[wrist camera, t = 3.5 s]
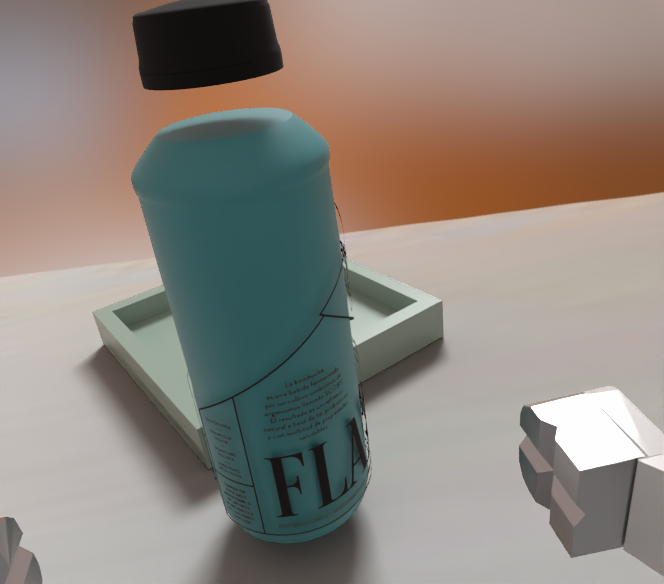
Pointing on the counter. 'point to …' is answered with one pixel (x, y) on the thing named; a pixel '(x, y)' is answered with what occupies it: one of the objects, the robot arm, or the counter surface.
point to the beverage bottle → (253, 276)
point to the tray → (171, 370)
